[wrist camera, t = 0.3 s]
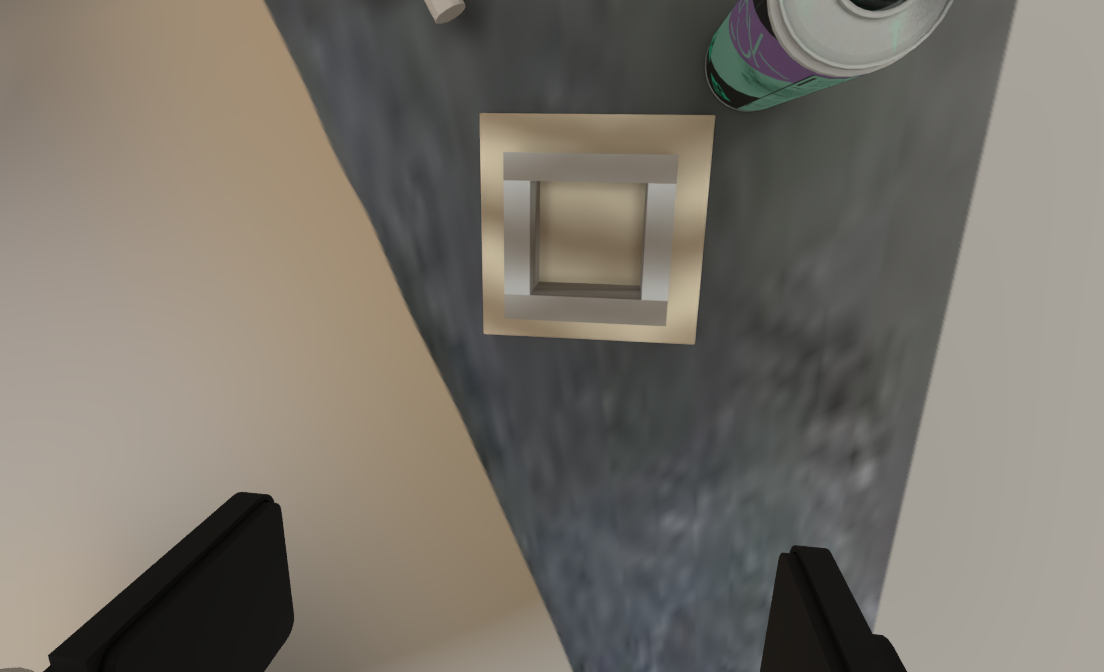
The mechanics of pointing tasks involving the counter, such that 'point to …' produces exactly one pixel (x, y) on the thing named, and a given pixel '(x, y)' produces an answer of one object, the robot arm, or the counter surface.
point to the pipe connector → (445, 9)
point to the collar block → (594, 224)
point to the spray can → (810, 45)
